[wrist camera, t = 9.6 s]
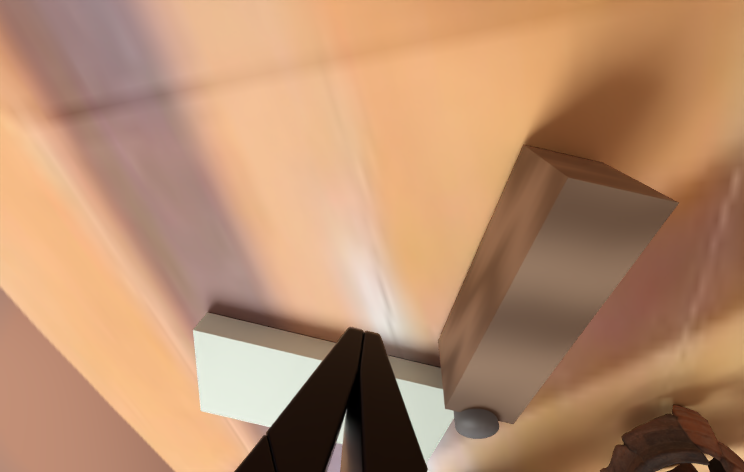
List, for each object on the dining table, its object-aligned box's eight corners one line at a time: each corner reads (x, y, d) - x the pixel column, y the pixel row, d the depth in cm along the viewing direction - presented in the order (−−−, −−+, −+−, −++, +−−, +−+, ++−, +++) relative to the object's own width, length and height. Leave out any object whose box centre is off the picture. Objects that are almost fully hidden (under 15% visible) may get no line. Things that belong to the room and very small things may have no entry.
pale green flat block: (463, 373, 24) (467, 395, 22) (425, 442, 29) (425, 463, 27) (207, 312, 24) (192, 329, 22) (212, 391, 29) (200, 410, 27)
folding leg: (484, 367, 23) (502, 445, 19) (431, 355, 23) (436, 430, 19) (602, 162, 15) (685, 206, 11) (522, 144, 15) (571, 180, 11)
